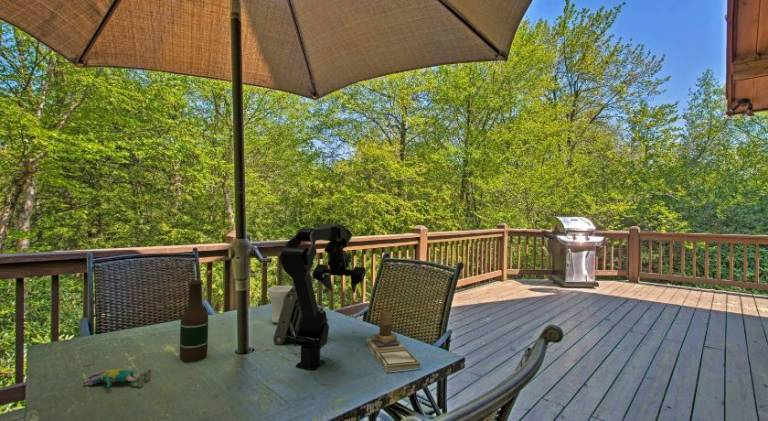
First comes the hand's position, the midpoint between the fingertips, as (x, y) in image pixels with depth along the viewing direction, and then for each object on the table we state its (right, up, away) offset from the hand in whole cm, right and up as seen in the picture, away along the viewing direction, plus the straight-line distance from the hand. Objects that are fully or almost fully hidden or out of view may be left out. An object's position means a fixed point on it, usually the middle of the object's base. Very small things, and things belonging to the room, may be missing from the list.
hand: (342, 291), depth 138 cm
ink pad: (+16, -15, -10) cm, 24 cm away
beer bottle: (-44, -16, -22) cm, 52 cm away
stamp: (+16, -15, -10) cm, 24 cm away
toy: (-55, -16, -39) cm, 70 cm away
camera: (-15, -17, -4) cm, 23 cm away
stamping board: (+18, -18, -16) cm, 30 cm away
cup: (-27, -16, +16) cm, 35 cm away
